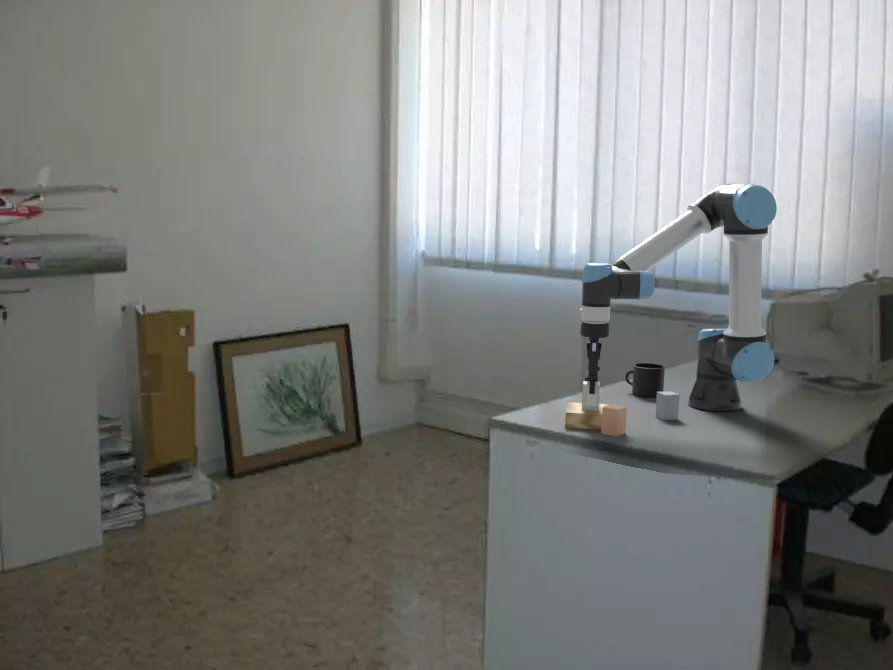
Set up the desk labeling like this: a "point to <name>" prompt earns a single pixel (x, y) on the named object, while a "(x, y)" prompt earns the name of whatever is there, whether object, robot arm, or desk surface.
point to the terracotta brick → (613, 420)
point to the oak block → (583, 416)
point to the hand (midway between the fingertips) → (591, 400)
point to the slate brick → (667, 405)
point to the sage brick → (584, 395)
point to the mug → (647, 379)
